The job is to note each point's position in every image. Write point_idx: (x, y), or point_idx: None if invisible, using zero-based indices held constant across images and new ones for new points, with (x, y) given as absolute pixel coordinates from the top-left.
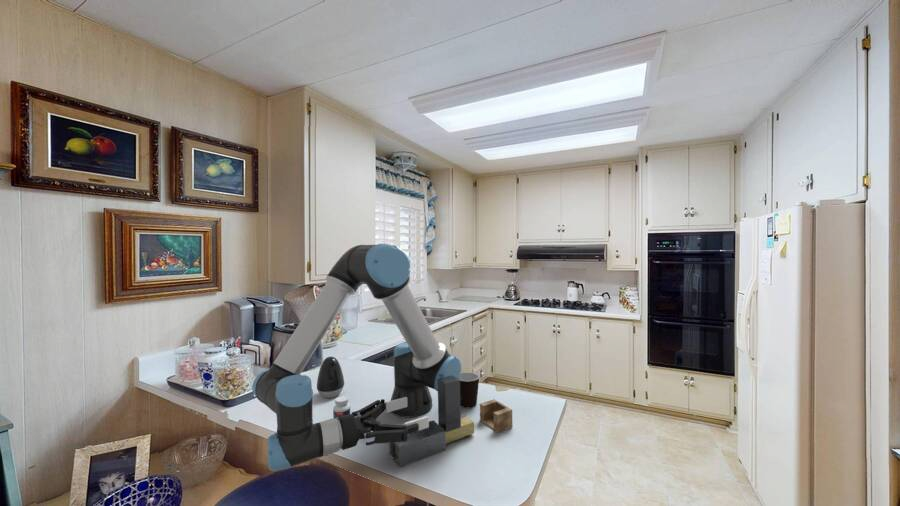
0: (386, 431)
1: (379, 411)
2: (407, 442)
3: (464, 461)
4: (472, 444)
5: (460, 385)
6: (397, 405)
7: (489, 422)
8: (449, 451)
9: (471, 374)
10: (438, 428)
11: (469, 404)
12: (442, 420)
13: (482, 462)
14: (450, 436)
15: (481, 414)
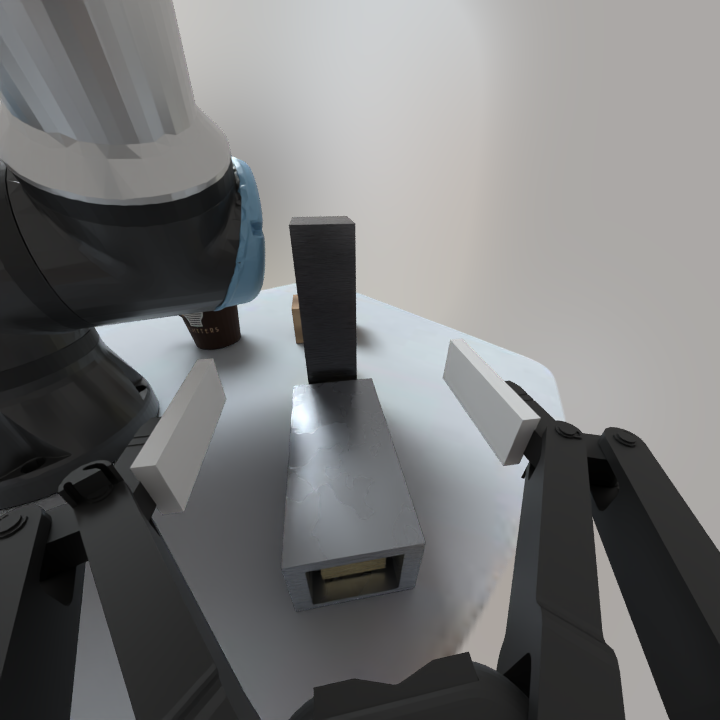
0: (704, 577)
1: (170, 563)
2: (398, 494)
3: (429, 404)
4: (372, 375)
5: None
6: (203, 423)
7: None
8: None
9: None
10: (349, 387)
11: (235, 334)
12: (333, 364)
13: (441, 381)
14: None
15: (299, 329)
